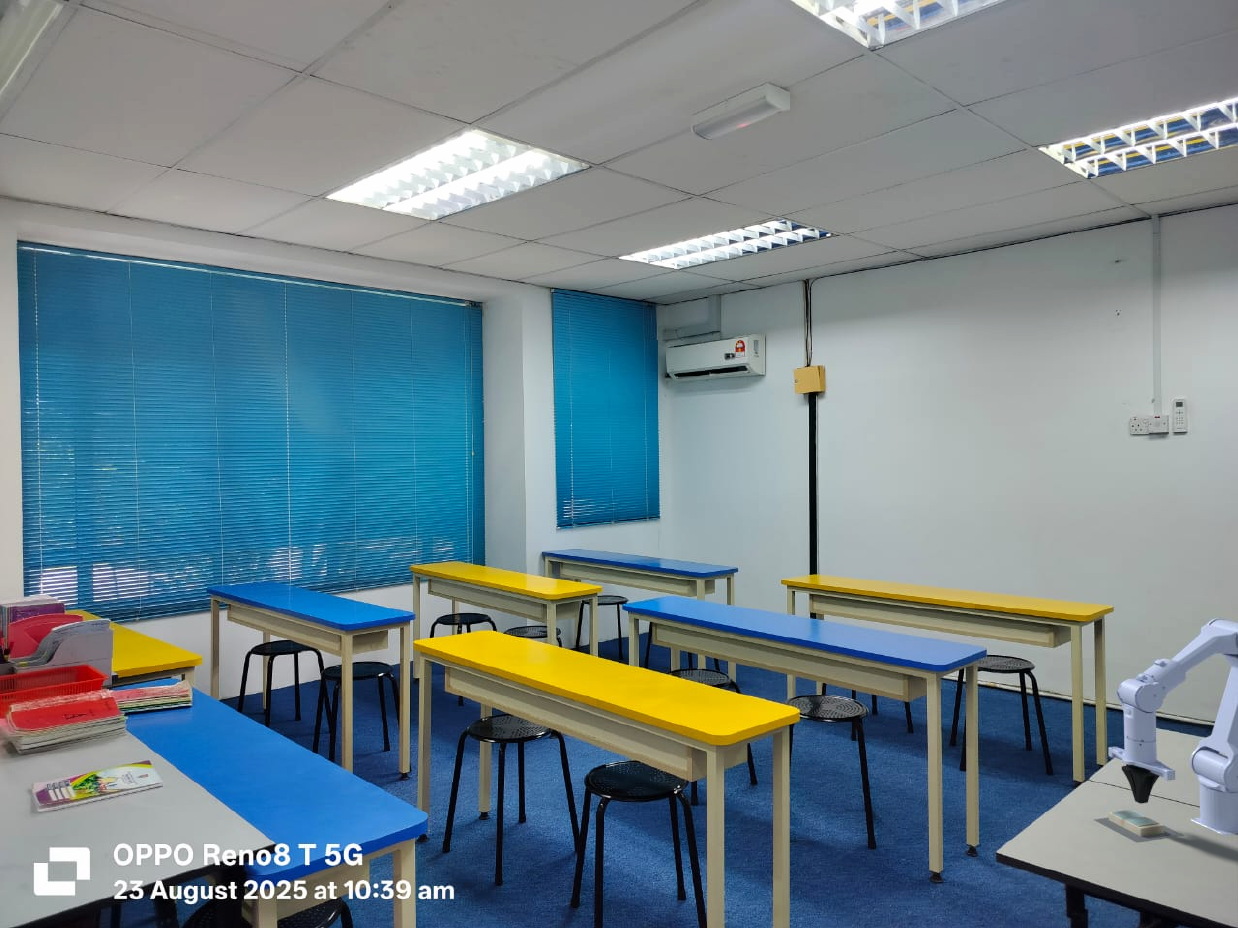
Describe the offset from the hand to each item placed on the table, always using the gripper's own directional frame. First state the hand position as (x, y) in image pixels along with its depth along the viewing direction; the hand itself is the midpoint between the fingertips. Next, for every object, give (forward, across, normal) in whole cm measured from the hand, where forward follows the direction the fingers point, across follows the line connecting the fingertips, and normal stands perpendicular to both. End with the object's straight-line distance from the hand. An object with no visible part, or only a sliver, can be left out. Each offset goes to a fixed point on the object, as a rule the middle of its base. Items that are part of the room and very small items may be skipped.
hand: (1141, 801), depth 169 cm
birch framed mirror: (+5, +2, 0) cm, 6 cm away
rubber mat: (+6, -1, 0) cm, 6 cm away
